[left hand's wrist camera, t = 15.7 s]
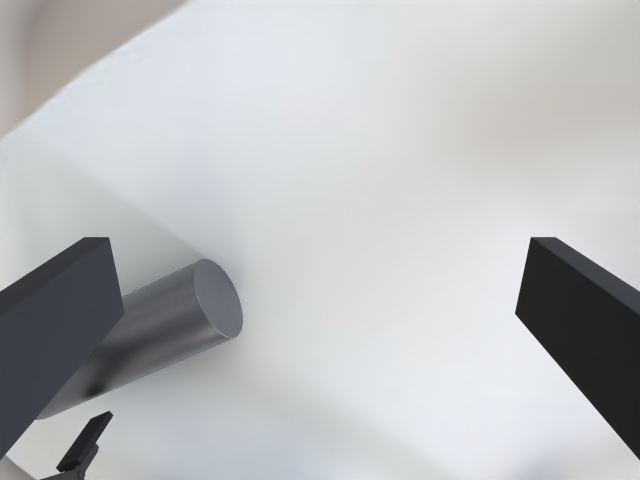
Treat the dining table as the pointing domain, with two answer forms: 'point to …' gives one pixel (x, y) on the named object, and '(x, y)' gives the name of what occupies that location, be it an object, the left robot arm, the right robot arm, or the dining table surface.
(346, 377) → the dining table surface
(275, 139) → the dining table surface
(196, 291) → the rod
